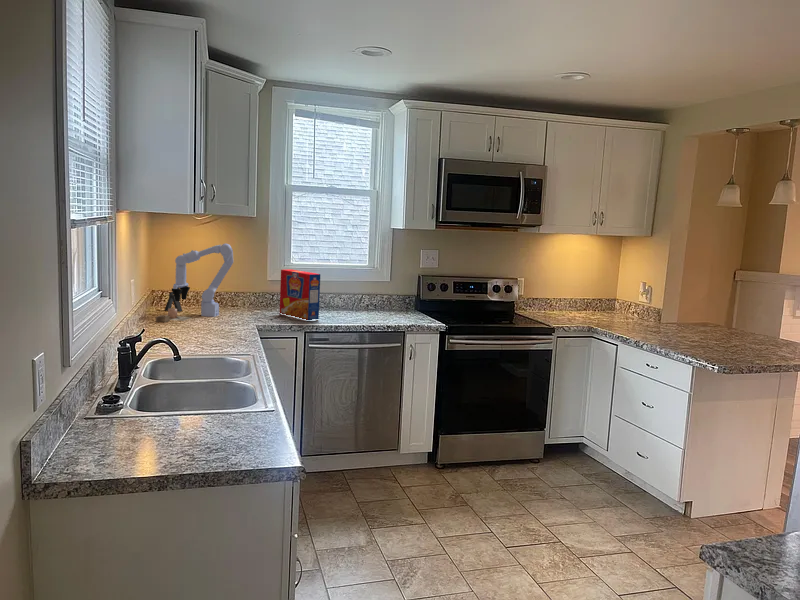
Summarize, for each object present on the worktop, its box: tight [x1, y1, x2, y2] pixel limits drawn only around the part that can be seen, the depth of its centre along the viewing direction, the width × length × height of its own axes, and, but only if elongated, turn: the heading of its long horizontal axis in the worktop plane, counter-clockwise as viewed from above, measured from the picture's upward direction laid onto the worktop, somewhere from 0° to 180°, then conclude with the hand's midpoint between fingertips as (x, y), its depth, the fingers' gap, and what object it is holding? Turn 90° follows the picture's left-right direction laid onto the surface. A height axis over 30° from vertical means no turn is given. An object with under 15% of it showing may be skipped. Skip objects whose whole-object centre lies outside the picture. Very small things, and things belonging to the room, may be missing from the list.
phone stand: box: [164, 291, 183, 313], centre depth 358 cm, size 9×6×12 cm, turn 90°
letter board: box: [165, 314, 193, 322], centre depth 334 cm, size 16×12×1 cm
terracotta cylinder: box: [167, 307, 178, 319], centre depth 334 cm, size 5×5×5 cm
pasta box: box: [279, 269, 321, 320], centre depth 362 cm, size 28×8×28 cm, turn 47°
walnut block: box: [155, 314, 170, 323], centre depth 322 cm, size 5×5×4 cm
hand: (180, 300), depth 344 cm, fingers open, 7 cm apart
